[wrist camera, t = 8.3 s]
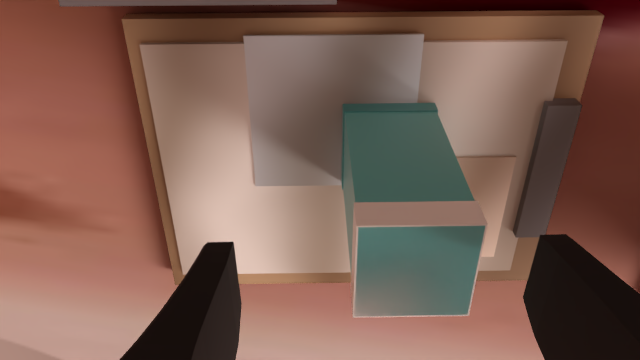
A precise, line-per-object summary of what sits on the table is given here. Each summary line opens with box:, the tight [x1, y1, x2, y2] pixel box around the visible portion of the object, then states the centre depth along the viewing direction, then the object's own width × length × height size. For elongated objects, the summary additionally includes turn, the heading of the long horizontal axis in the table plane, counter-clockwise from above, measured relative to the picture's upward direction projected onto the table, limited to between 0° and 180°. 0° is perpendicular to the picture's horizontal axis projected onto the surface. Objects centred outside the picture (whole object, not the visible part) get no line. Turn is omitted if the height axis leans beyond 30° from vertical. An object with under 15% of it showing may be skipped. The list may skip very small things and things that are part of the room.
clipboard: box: [121, 10, 604, 285], centre depth 22 cm, size 16×12×1 cm
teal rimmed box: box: [341, 103, 488, 318], centre depth 18 cm, size 3×3×7 cm
